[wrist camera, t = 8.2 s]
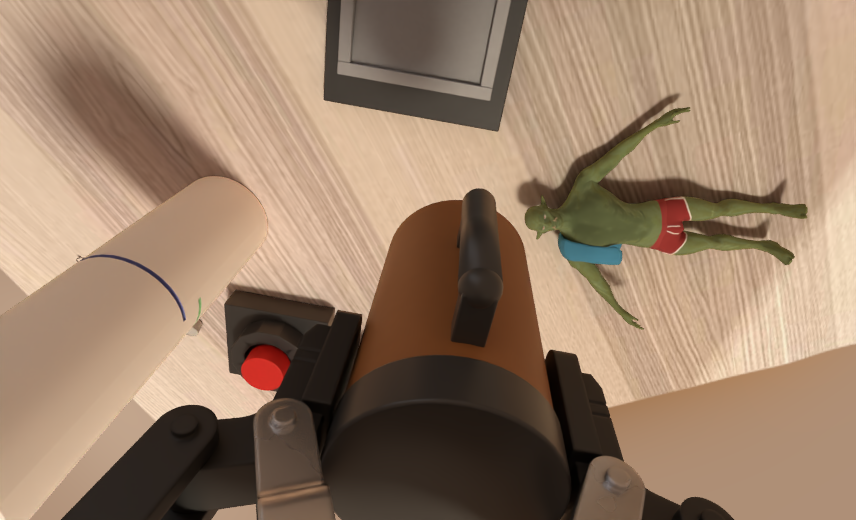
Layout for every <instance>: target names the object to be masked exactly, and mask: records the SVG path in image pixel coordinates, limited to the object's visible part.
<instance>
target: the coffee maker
mask: <svg viewBox="0 0 856 520" xmlns="http://www.w3.org/2000/svg"><path fill="white" fill-rule="evenodd" d="M527 2H528V0H328V7H327V32H326V57H325V82H324V100H326V101H331V102H337V103H342V104H348V105H353V106H359V107H365V108H370V109H376V110H381V111H387V112H392V113H398V114H404V115H409V116H415V117H420V118H426V119H431V120H437V121H442V122H448V123H454V124H459V125H465V126H470V127H476V128H481V129H487V130H492V131H498V130H499V126H500V121H501V117H502V113H503V108H504V104H505V99H506V95H507V90H508V86H509V82H510V77H511V73H512V68H513V64H514V59H515V55H516V51H517V46H518V42H519V37H520V33H521V28H522V24H523V20H524V15H525V11H526V6H527Z"/></svg>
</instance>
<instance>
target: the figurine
mask: <svg viewBox="0 0 856 520" xmlns="http://www.w3.org/2000/svg"><path fill="white" fill-rule="evenodd" d="M688 109H690V107H687V108H677V109H673V110H671V111H669V112H667V113H665V114H664V115H663V116H661V117H660V118H659V119H657V120H655V121H654V122H652V123H651V124H649V125H648V126H646V127H645V128H643V129H641V130H640V131H638V132H636V133H634V134H632V135H631V136H629V137H628V138H626V139H624V140H623V141H622V142H620V143H618V144H617V145H616V146H615V147H614V148H612V149H611V150H610V151H609V152H608V153H606V154H605V155H604V156H603V157H601V158H600V159H599V160H597V161H596V162H595V163H594V164H592V165H590V166H588V167H586V168H584V169H583V170H582V171H581V172H580V173H579V175H578V176H577V178H576V180H575V182H574V185H573V188H572V190H571V191H570V193H569V195H568V197H567V199H566V201H565V202H564V203H563V205H562V206H561V207H559V208H558V209H550V208H548V206H547V205H546V202H545V199H544V197H543V195H541V205H540V206H532V207H530V208H529V209H528V210H527V212H526V214H525V223H526V225H527V227H528V228H529V229H531V230H536V231H537V238H536V239H539V238H540V236H541V235H542V233H546V232H547V231H552V230H559V231H560V233H559V237H558V246H559V249H560V252H561V254H562V255H563V257H564V258H566V259H567V260H568V262H569V263H570V265H571V266H572V267H574V268H576V269H577V270H578V271H579V272H580V273H581V274H582V275H583V276H584V277H586V278H587V280H588V281H589V283H590V284H591V285H592V287H593V288H594V289H595V290H596V291H597V292H598V293H599V294H600V295H601V296H602V297H603V298H604V299H605V300H606V301H607V302H608V303H609V304H610V305H611V306H612V307H613V308H614V309H615V310H616V311H617V312H618V313H619V314H620V315H621V316H622V317H623V319H624V320H625V321H626V322H627V323H628V324H630V325H633V326H635V327H636V328H639V329H642V330H643V329H644V328H642V327H639V326H640V325H638V324H637V323H636V322H633V320H632V319H634V320H637V321H638V319H637V318H635V317H633V316H632V315H631V314H629V313H628V312H627V311H625V310H624V309H622V308H621V307H620V305H619V304H618V303H617V301H616V300H615V298H614V296H613V294H612V291H611V288H610V286H609V284H608V283H607V282H606V280H605V279H604V278H603V276H602V275H601V273H600V271H599V269H598V268H597V266H596V265H595V264H608V265H619V264H620V263H621V261H622V251H621V250H620V248H621V245H622V244H628V245H634V246H638V247H646V248H651V249H657V250H659V251H661V252H663V253H666V254H670V255H687V254H692V253H696V252H699V251H703V250H706V249H716V250H721V251H729V250H740V249H752V248H754V249H758V250H762V251H765V252H768V253H770V254H772V255H774V256H775V257H776V258H778V259H779V260H780V261H781V262H782V263H783V264H785V265H787V264H788V265H789V264H790V263H791V262H792V259H793V258H795V256H794V254H793V253H792V252H790V251H789V250H787V249H785V248H783V247H781V246H780V245H779V244H778V243H777V242H774V241H771V240H766V241H765V240H763V241H753V240H746V239H741V238H737V237H734V236H731V235H726V234H716V235H713V236H706V235H702V234H697V233H692V232H688V231H683V230H684V228H683V223H682V221H704V220H709V219H714V218H717V217H720V216H738V215H742V214H748V213H771V214H781V215H784V216H788V217H793V218H799V219H804V218H807V216H806V213H807V207H806V205H805V204H797V205H789V204H783V203H781V204H778V203H775V202H772V203H765V204H761V203H754V202H749V201H745V200H739V199H725V200H722V201H720V202H718V203H712V202H709V201H706V200H703V199H699V198H694V197H687V196H679V197H671V198H664V199H658V200H651V201H647V202H643V203H638V204H629V203H625V202H623V201H621V200H619V199H618V198H617V197H616V196H615V195H613V194H612V193H611V192H609V191H608V190H606V189H604V188H603V187H601V186H600V185H599V184H598V183H599V182H600V181H601V179H602V178H604V177H605V176H606V175H607V174H608V173H609V172H610V171H611V170H612V169H614V168H615V167H616V166H617V165H618V163H619V162H620V161H621V160H622V158H623V157H625V156H626V155H627V154H629V153H630V152H631V151H632V150H634V149H635V147H636V146H637V145H638V144H639V143H640V142H641V140H642V139H643V138H644V137H645V136H646V135H647V134H649V133H650V132H651V131H653V130H654V129H656V128H657V127H661V126H667V125H670V124H673V123H678V122H680V120H678V121H673V120H672V119H673V117H674V116H676V115H678V114H680V113H683V112H689V111H690V110H688Z"/></svg>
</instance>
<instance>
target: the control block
mask: <svg viewBox="0 0 856 520" xmlns="http://www.w3.org/2000/svg"><path fill="white" fill-rule="evenodd" d="M224 307H225V320H226V333H227V345H228V358H229V371H230V373H234V374H239V375H241V376H242V373H241V366H242V364H243V363H244V361H245V359H246V358H247V356H248V355H249V353H250V351H251V350H252V349H253V348H254V347H256V346H258V345H272V346H275V347H277V348H279V349H281V350H282V351H283V352H284V353H285V354H286V355H287V356H288V358H289V360H290V363H291V361H292V359H293V358H294V355H295V353H296V351H297V349H298V347H299V344H300V342H301V340H302V338H303V336H304V334H305V333H306V332H307V331H308V330H310V329H311V328H312V327H313V326H315V325H316V324H322V325H327V326H331V325H332V322H333V320H334V315H335V309H334V308H329V307H324V306H318V305H313V304H308V303H302V302H297V301H292V300H286V299H281V298H275V297H270V296H265V295H259V294H254V293H249V292H243V291H238V290H235V291H234V293H233V294H232V295H231V296H230V298H229V299H228V300H227V301H226V302H225V304H224ZM242 377H243V376H242ZM278 389H279V387H278V388H277V389H274V390H271V391H276V392H277V391H278Z"/></svg>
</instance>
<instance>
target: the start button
mask: <svg viewBox="0 0 856 520" xmlns="http://www.w3.org/2000/svg"><path fill="white" fill-rule="evenodd" d="M289 366H290V360H289V358H288V356H287V355H286V354H285V353H284V352H283V351H282V350H281V349H279V348H277V347H275V346H272V345H258V346H256V347H254V348H253V349H252V350H251V351H250V353H249V355H248V356H247V358H246V359H245V361H244V363H243V364H242V366H241V373H242V376H243V378H244V379H245V380H246V381H247V382H248V383H249V384H250V385H251V386H253V387H255V388H257V389H261V390H274V389H277V388H278V387H280V385H281V382H282V380H283V378H284V376H285V374H286V372H287V370H288V368H289Z"/></svg>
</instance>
